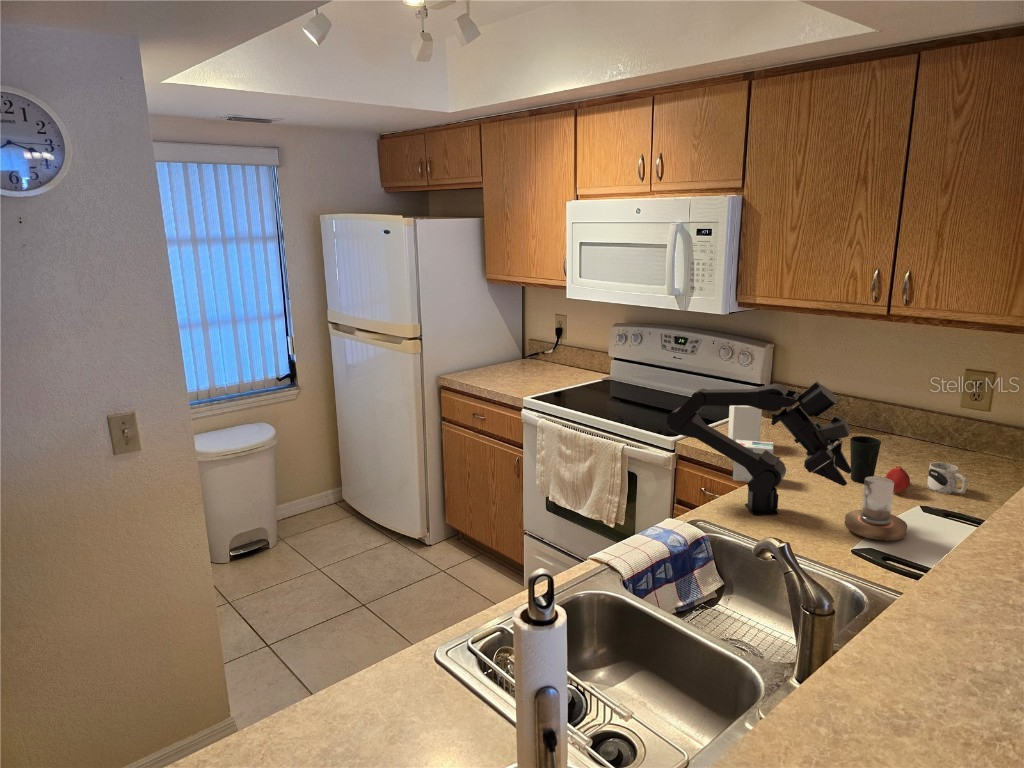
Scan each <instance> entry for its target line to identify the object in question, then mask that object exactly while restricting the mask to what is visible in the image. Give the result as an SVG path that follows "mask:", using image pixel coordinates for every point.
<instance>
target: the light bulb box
mask: <svg viewBox="0 0 1024 768" xmlns="http://www.w3.org/2000/svg"><path fill="white" fill-rule="evenodd" d="M736 442H737V443H739V444H741V445H742V446H744V447H746V448H748V449H749V450H751V451H753V452H755V453H759V454H762V453H763V452H764V451H765V450H767V451H769V452H770V453H771V454H772V455H774V447H775V446H774V445H775V444H774V442H773V441H772V442H771V441H761V440H760V441H747V440H737V439H736ZM732 465H733V468H732V481H738V482H747V483H748V482H749V481H750V480H751V478H752V476H751V475H750V473H749V472H748V471H747V470H746V468H745V467H743V466H742V465H740V464H738V463H737V462H735V461H733V464H732Z"/></svg>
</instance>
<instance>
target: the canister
mask: <svg viewBox="0 0 1024 768" xmlns="http://www.w3.org/2000/svg"><path fill="white" fill-rule="evenodd" d="M863 485H864V486H863V494H862V496H863V497H862V505H861V510H862V512H861V514H860V520H861V521H862V522H864V523H866V524H869V525H873V526H880V527H883V526H889V525H890V524H891V517H890V516H891V515H892V513H891V512H892V505H893V495H894V492H893V488H894V482H893V481H892V480H890V479H887V478H885V477H883V476H875V475H874V476H871V477H866V478H865V483H864V484H863Z"/></svg>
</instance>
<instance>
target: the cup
mask: <svg viewBox="0 0 1024 768" xmlns="http://www.w3.org/2000/svg"><path fill="white" fill-rule="evenodd" d="M849 440H850V442H849V443H850V447H849V449H850V450H849V451H850V468H851V470H852V472H851V473H850V480H851V481H852V482H854V483H858V484H861V485H862V484H863V485H864V483H865V478H866V477H871V476H875V473H876V467H877V463H878V459H879V453H880V449H881V444H882V442H881V440H880V439H878V438H876V437H871V436H863V435H857V436H851V437H850V438H849Z"/></svg>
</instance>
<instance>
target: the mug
mask: <svg viewBox="0 0 1024 768" xmlns="http://www.w3.org/2000/svg"><path fill="white" fill-rule="evenodd" d="M959 469H960V468H959V467H958V466H957V465H955V464H952V463H947V462H939V461H935V462H930V463H929V468H928V475H927V484H926V485H927V486H926V488H927V489H928V490H929V491H931V492H934V493H938V494H942V495H943V494H944V495H952V494H955V493H958V494H965V493H966V491H967V488H968V478H967V477H966V476H964V475H963V474H961V473H959ZM958 479H959V480H961V482H962V485H961V488H958V487H957V484H958Z"/></svg>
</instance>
